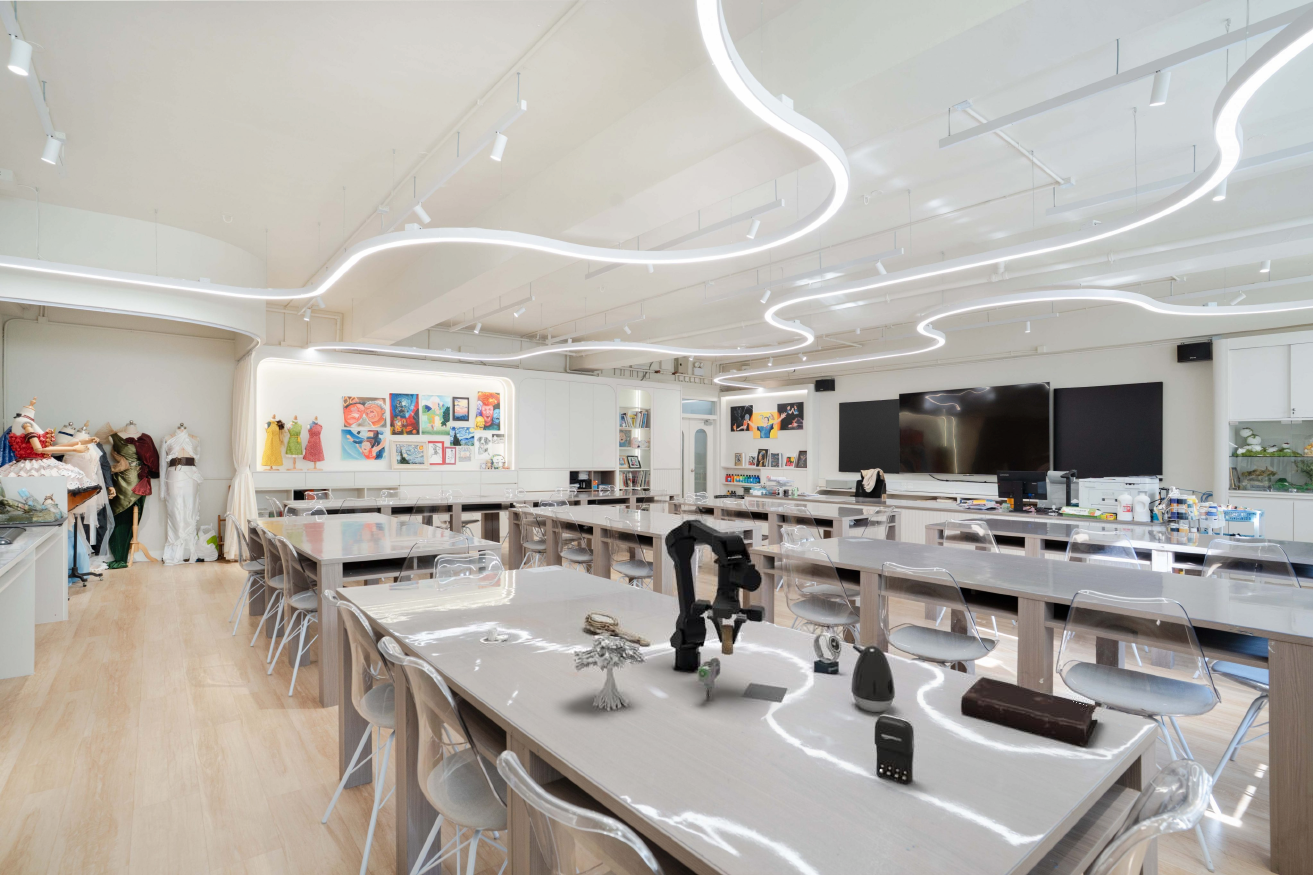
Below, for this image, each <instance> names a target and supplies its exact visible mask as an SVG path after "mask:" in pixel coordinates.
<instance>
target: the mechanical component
mask: <svg viewBox="0 0 1313 875" xmlns="http://www.w3.org/2000/svg"><path fill="white" fill-rule="evenodd" d="M697 672H698V673H697V674H698V676H697V677H698V682H699V683H704V686H705V690H706V691H705V700H706V701H708V702H712V701H713V687H714V686H715V679H717V677H718V676H719V675H720V673H721V661H720V659H719V658H717V657H712V658H711V659H710V660H708V661H704V662H703V663H702V664H701V666H700V667H699V668H698V669H697Z"/></svg>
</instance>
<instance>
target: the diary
mask: <svg viewBox="0 0 1313 875" xmlns="http://www.w3.org/2000/svg"><path fill="white" fill-rule="evenodd" d="M1073 701H1074V702H1073ZM1076 702H1077V703H1076ZM1079 703H1081V704H1079ZM1083 704H1084V705H1083ZM1086 705H1087V706H1086ZM1097 708H1098V705H1097V704H1092V703H1088V702H1084V701H1080V700H1075V699H1071V698H1066V697H1062V696H1058V695H1054V694H1049V693H1044V692H1041V691H1037V690H1033V689H1031V688H1027V687H1024V686H1020V685H1017V684H1014V683H1012V682H1011V683H1010V682H1005V681H1002V680H996V679H993V678H989V677H984V676H981V678H979V679H978V680H977V681H975V683H973V684H972V685H971V687H970V688H968V690H967V691H966V692H965V693H964V694H963V695H962V697H961V700H960V709H961V711H960V712H961V715H964V716H968V717H972V718H975V719H980V720H983V721H987V722H991V723H993V724H997V725H1002V726H1004V727H1008V728H1013V729H1017V730H1019V731H1023V732H1027V733H1031V734H1035V735H1039V736H1042V737H1047V738H1049V739H1053V740H1057V741H1060V742H1064V743H1067V744H1071V745H1074V746H1077V747H1078V746H1079V747H1081V748H1085V749H1086V748H1087V746H1088V744H1089V741H1090V740H1091V738H1092V735H1093V734H1094V731H1095V729H1096V726H1097V724H1098V719H1093V714H1094V713H1095V711H1096V709H1097Z"/></svg>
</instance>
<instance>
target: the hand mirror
mask: <svg viewBox="0 0 1313 875" xmlns="http://www.w3.org/2000/svg"><path fill="white" fill-rule="evenodd" d="M584 620H585V621H584V622H583V623H584V624H583V625H584V626H585V627H586V628H587V629H589V631H590V630H591V631H592V632H595V633H598V634H601V633H602V634H604V633H605V634H606V633H608V634H610V635H609V636H615V635H621V636H625V637H627V638H628V639H629V640H632V641H635V642H637V643H639V645H640V646H644V647H649V646H650V645H651V641H650V640H649V639H646V638H642V637H640V636H638V635H635V634H633V633H629V632H628V631H626V630H624V629H623V628H622V627H620V623H619V620H618V619H617V618H616V617H614V616H611V615H609V614H604V613H601V612H596V611H595V612H589V613H588V614H587V615H586V616H585V618H584Z"/></svg>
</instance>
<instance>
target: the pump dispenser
mask: <svg viewBox="0 0 1313 875" xmlns="http://www.w3.org/2000/svg"><path fill="white" fill-rule="evenodd" d="M852 649H853V650H854V651H856V652H857V653H858V654H859V656H858V657H857V660H856V663H855V665H854V669H853V671H852V677H851V685H850V686H851V687H850V692H851V694H852V696H853V700H854V701H855V703H856V704H857V706H859V707H860V708H861V709H863V710H865V711H868V712H872V713H881V712H884V711H887V710H888V709H890V707H891V705H892V703H893V701H894V699H895V698H896V696H895V695H896V690H895V689H896V688H895V682H894V676H893V672H892V669H891V666H890V663H889V661H888V660H889V659H888V657H887V656H886V654H885V653H884V650H882V649H881V648H880V647H878V646H877V645H871V644H870V645H867V646H866V647H864V648H862V647H860V646H858V644H857V645H856V644H853V645H852Z"/></svg>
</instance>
